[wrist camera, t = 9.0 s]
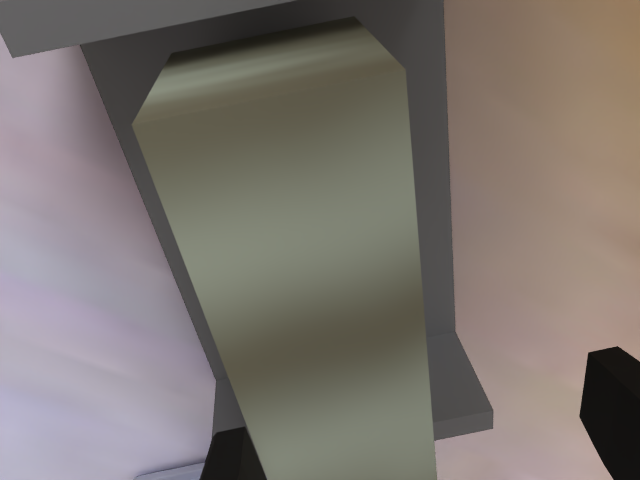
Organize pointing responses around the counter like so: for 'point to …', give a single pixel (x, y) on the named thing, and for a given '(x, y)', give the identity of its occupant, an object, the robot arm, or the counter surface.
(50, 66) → the counter surface
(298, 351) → the olive green rectangular block
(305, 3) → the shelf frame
